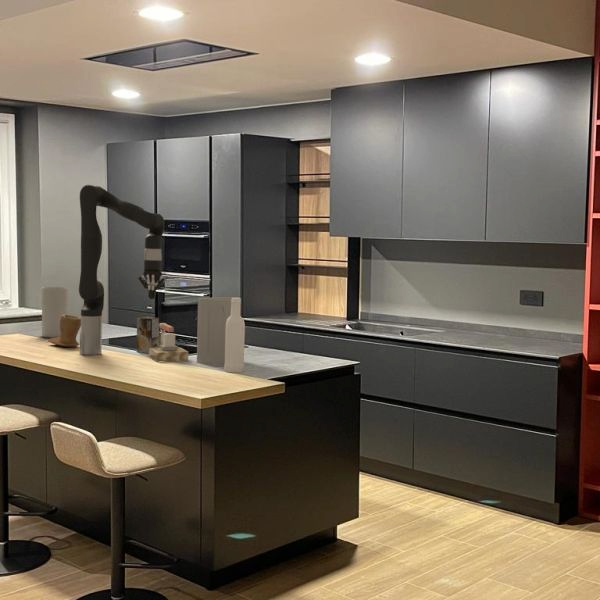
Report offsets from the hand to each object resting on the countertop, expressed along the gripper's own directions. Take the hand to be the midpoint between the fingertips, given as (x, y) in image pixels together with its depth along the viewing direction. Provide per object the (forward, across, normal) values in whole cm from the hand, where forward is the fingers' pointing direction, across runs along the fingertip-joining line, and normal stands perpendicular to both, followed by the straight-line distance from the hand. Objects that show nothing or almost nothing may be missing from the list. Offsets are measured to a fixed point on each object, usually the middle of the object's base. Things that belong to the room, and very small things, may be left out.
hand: (152, 298), depth 374 cm
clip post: (+26, 0, +11) cm, 29 cm away
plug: (+26, +7, +3) cm, 28 cm away
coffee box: (+27, -10, +17) cm, 33 cm away
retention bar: (+14, +4, +6) cm, 16 cm away
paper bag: (+27, +33, +2) cm, 43 cm away
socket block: (+26, +7, +3) cm, 28 cm away
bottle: (+27, +45, -14) cm, 54 cm away
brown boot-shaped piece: (+27, -53, +16) cm, 61 cm away
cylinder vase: (+27, -77, +44) cm, 93 cm away
